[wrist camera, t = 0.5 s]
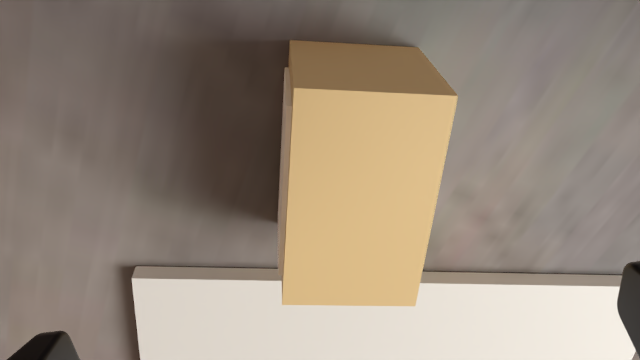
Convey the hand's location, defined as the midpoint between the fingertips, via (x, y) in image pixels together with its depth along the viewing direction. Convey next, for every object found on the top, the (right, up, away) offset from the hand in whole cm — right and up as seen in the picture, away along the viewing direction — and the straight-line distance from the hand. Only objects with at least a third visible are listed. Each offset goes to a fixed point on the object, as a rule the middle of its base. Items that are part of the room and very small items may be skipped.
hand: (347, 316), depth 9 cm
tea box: (+1, +4, +12) cm, 13 cm away
